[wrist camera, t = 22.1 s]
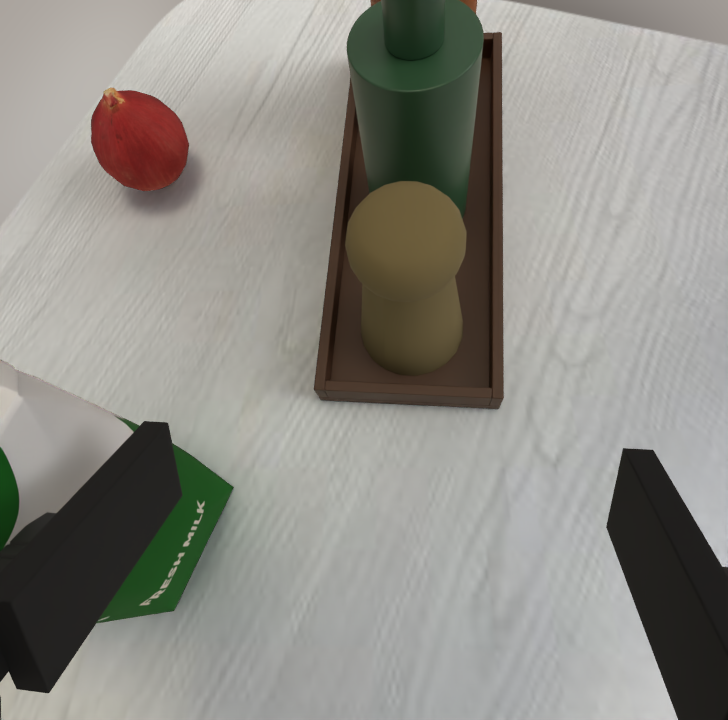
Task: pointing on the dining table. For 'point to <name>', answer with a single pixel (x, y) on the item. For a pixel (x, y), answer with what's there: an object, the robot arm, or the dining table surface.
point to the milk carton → (77, 465)
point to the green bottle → (417, 92)
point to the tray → (474, 278)
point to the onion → (138, 140)
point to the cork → (408, 275)
